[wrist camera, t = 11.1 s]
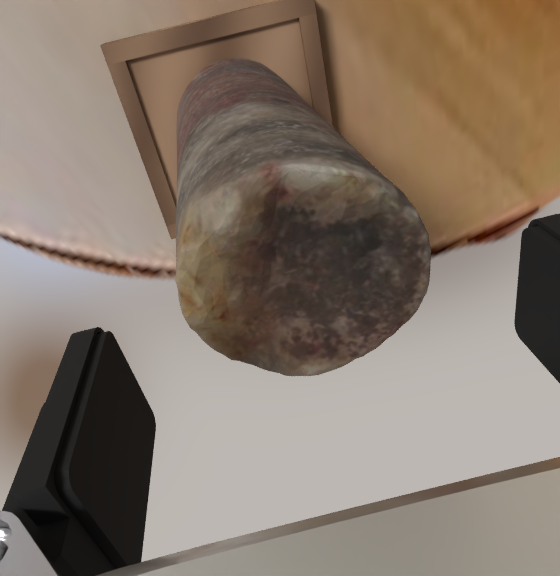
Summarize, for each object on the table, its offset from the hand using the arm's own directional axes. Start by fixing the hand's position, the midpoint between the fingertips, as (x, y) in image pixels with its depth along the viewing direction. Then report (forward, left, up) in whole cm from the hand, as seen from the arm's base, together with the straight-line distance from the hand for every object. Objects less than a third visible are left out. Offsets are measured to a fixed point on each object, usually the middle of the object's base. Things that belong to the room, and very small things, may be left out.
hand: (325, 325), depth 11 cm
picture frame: (+1, 0, -23) cm, 23 cm away
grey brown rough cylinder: (0, 0, -22) cm, 22 cm away
